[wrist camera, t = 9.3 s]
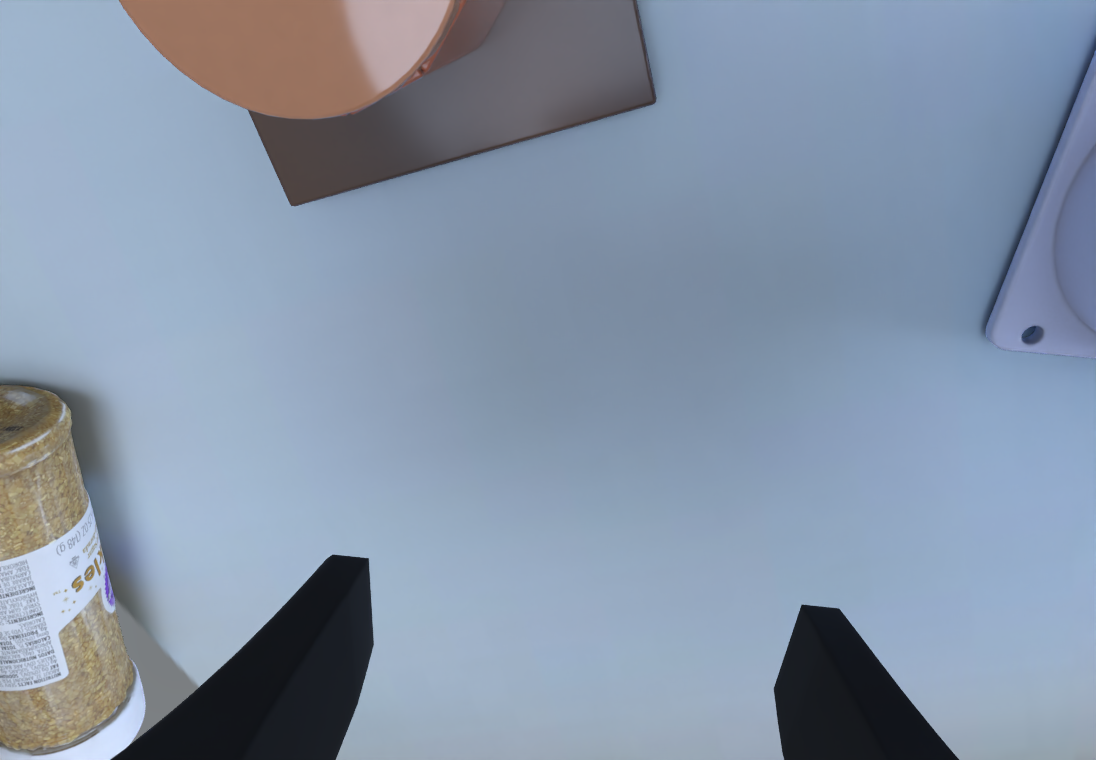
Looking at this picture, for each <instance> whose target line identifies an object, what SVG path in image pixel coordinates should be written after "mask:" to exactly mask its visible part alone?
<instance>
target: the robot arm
mask: <svg viewBox="0 0 1096 760" xmlns="http://www.w3.org/2000/svg"><path fill="white" fill-rule="evenodd" d="M1031 326H1036V330H1035V331H1034V332H1033V334H1032V335H1030V336H1028V337H1026V338H1022V334H1023V332H1024V331H1025V330H1026V329H1027V328H1029V327H1031ZM985 333H986V336H987V339H988V340H989V341H990V342H991V343H992V344H994V345H995V346H996V347H997V348H999V349H1002V350H1008V351H1019V352H1030V353H1040V354H1051V355H1062V356H1073V357H1083V358H1094V359H1096V50H1095V53H1094V55H1093V58H1092V61H1091V63H1090V66H1089V68H1088V71H1087V73H1086V76H1085V78H1084V81H1083V83H1082V86H1081V88H1080V91H1079V93H1078V96H1077V98H1076V101H1075V104H1074V106H1073V109H1072V111H1071V114H1070V116H1069V119H1068V121H1067V124H1066V126H1065V129H1064V131H1063V134H1062V136H1061V139H1060V141H1059V144H1058V146H1057V149H1056V152H1055V154H1054V157H1053V159H1052V162H1051V164H1050V167H1049V169H1048V172H1047V174H1046V177H1045V179H1044V182H1043V184H1042V187H1041V189H1040V192H1039V195H1038V197H1037V200H1036V202H1035V205H1034V207H1033V210H1032V212H1031V215H1030V217H1029V220H1028V222H1027V225H1026V227H1025V230H1024V232H1023V235H1022V237H1021V240H1020V243H1019V245H1018V248H1017V250H1016V253H1015V255H1014V258H1013V260H1012V263H1011V265H1010V268H1009V270H1008V273H1007V275H1006V278H1005V280H1004V283H1003V286H1002V288H1001V291H1000V293H999V296H998V298H997V301H996V303H995V306H994V308H993V311H992V313H991V316H990V318H989V321H988V323H987V326H986V332H985ZM373 645H374V642H373V625H372V608H371V591H370V574H369V558H360V557H350V556H341V555H332V556H330V557H329V558H327V559H326V560H325V561H324V562H323V564H322V565H321V566H320V567H319V568H318V569H317V570H316V571H315V573H314V574H313V575H312V576H311V577H310V578H309V579H308V580H307V581H306V582H305V584H304V585H303V586H302V587H301V588H300V589H299V590H298V591H297V592H296V593H295V594H294V595H293V596H292V598H291V599H290V600H289V601H288V602H287V603H286V604H285V605H284V606H283V607H282V608H281V609H280V610H279V611H278V612H277V613H276V614H275V615H274V616H273V617H272V618H271V619H270V620H269V621H268V622H267V623H266V624H265V625H264V626H263V627H262V628H261V629H260V630H259V631H258V632H257V633H256V634H255V635H254V636H253V637H252V638H251V639H250V640H249V641H248V642H247V643H246V644H245V645H244V646H243V647H242V648H241V649H240V650H239V651H238V652H237V653H236V654H235V655H234V656H233V657H232V658H231V659H230V660H229V661H228V662H227V663H225V664H224V665H223V666H222V667H221V668H220V669H219V670H218V671H217V672H216V673H214V674H213V675H212V676H211V677H210V678H209V679H208V680H207V681H206V682H205V683H203V684H202V685H201V686H200V687H199V688H198V689H197V690H196V691H195V692H194V693H193V694H191V695H190V696H189V697H188V698H187V699H186V700H184V701H183V702H182V703H181V704H180V705H179V706H177V707H176V708H175V709H174V710H173V711H171V712H170V713H169V714H168V715H167V716H166V717H164V718H163V719H162V720H161V721H159V722H158V723H157V724H156V725H154V726H153V727H152V728H151V729H149V730H148V731H147V732H146V733H144V734H143V735H142V736H140V737H139V738H138V739H137V740H136V741H134V742H133V743H132V744H130V745H129V746H128V747H126V748H125V749H124V750H122V751H121V752H120V753H118V754H117V755H116V756H114V757H113V758H112V759H110V760H336V757H337V755H338V752H339V750H340V747H341V745H342V742H343V740H344V737H345V735H346V732H347V730H348V727H349V724H350V722H351V719H352V717H353V714H354V712H355V709H356V706H357V704H358V700H359V697H360V693H361V690H362V686H363V683H364V679H365V675H366V672H367V668H368V664H369V660H370V657H371V653H372V649H373ZM774 694H775V702H776V710H777V718H778V725H779V732H780V739H781V745H782V752H783V756H784V760H959V759H958V758H957V757H956V756H955V754H954V753H953V752H952V751H951V750H950V749H949V747H948V746H947V745H946V744H945V743H944V742H943V740H942V739H941V738H940V737H939V736H938V734H937V733H936V732H935V731H934V729H933V728H932V727H931V726H930V724H929V723H928V722H927V721H926V720H925V718H924V717H923V716H922V715H921V713H920V712H919V711H918V710H917V709H916V707H915V706H914V705H913V704H912V702H911V701H910V700H909V699H908V697H907V696H906V695H905V694H904V692H903V691H902V690H901V689H900V687H899V686H898V685H897V683H896V682H895V681H894V680H893V678H892V677H891V676H890V674H889V673H888V672H887V670H886V669H885V668H884V667H883V665H882V664H881V663H880V661H879V660H878V659H877V657H876V656H875V655H874V653H873V652H872V651H871V650H870V648H869V647H868V646H867V644H866V643H865V642H864V640H863V639H862V638H861V636H860V635H859V634H858V632H857V631H856V630H855V628H854V627H853V626H852V625H851V623H850V622H849V621H848V619H847V618H846V617H845V615H844V614H843V613H842V612H841V610H840V609H838V608H829V607H819V606H810V605H801V608H800V611H799V614H798V617H797V620H796V623H795V626H794V629H793V632H792V636H791V639H790V642H789V645H788V648H787V651H786V654H785V657H784V660H783V663H782V666H781V669H780V672H779V675H778V678H777V681H776V684H775V687H774Z"/></svg>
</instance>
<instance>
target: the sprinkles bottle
mask: <svg viewBox="0 0 1096 760" xmlns="http://www.w3.org/2000/svg"><path fill="white" fill-rule="evenodd" d="M71 426H72V420H71V410H70V409H69V408H68V406H67V405H66V403H65V402H64V401H63V400H61V399H60V398H59V397H58V396H57V395H56V394H54V393H52V392H49V391H47V390H42V389H38V388H35V387H26V386H22V385H0V760H110V759H112V758H113V757H114V756H116V755H117V754H118V753H120V752H121V751H122V750H124V749H125V748H126V747H128V745H129V744H130V743H131V742H132V740H133V739H134V737H135V736H136V734H137V732H138V731H139V729H140V727H141V724H142V722H143V719H144V715H145V705H146V703H145V697H144V692H143V687H142V683H141V680H140V675H139V672H138V669H137V666H136V665H135V663H134V662H133V661H132V660H131V659H130V658H129V656H128V655H127V652H126V647H125V645H124V642H123V636H122V633H121V629H120V624H119V621H118V616H117V613H116V610H115V606H116V603H115V598H114V594H113V590H112V586H111V583H110V579H109V575H108V571H107V567H106V563H105V559H104V555H103V551H102V547H101V543H100V538H99V534H98V529H97V525H96V521H95V517H94V513H93V509H92V505H91V501H90V498H89V494H88V492H87V491H86V489H85V488H84V482H83V478H82V474H81V470H80V466H79V462H78V459H77V456H76V451H75V448H74V443H73V438H72V435H71Z"/></svg>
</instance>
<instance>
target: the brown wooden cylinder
mask: <svg viewBox="0 0 1096 760" xmlns="http://www.w3.org/2000/svg"><path fill="white" fill-rule="evenodd" d="M119 1H120V3H121V5H122V6H123V8H124V9H125V11H126V12H127V14H128V15H129V16H130V18H131V19H132V20H133V22H134V23H135V24H136V26H137V27H138V28H139V30H140V31H141V32H142V34H143V35H144V36H145V37H146V38H147V39H148V40H149V41H150V42H151V44H152V45H153V46H154V47H155V48H156V49H157V50H158V51H159V52H160V53H161V54H162V55H163V56H164V57H165V58H166V59H167V60H168V61H170V62H171V63H172V64H173V65H174V66H175V67H176V68H177V69H178V70H179V71H181V72H182V73H183V74H185V75H186V76H188V77H189V78H190V79H192V80H193V81H194V82H196V83H197V84H198V85H200V86H201V87H203V88H205V89H206V90H208V91H210V92H212V93H213V94H215V95H217V96H218V97H220V98H222V99H224V100H226V101H228V102H231V103H233V104H235V105H238V106H240V107H242V108H245V109H247V110H251V111H254V112H258V113H261V114H264V115H268V116H274V117H280V118H287V119H306V120H315V119H323V118H331V117H337V116H347V115H349V114H352V115H354V114H356V113H358V112H360V111H362V110H364V109H366V108H368V107H369V106H371V105H373V104H375V103H377V102H379V101H381V100H383V99H385V98H387V97H389V96H391V95H393V94H394V93H396V92H398V91H400V90H402V89H404V88H406V87H408V86H410V85H412V84H414V83H416V82H418V81H420V80H421V79H423V78H425V77H427V76H429V75H431V74H433V73H435V72H436V71H438V70H440V69H442V68H444V67H446V66H447V65H449V64H451V63H453V62H455V61H457V60H458V59H460V58H462V57H464V56H466V55H468V54H469V53H471V52H473V51H475V50H477V47H478V46H480V45H482V43H483V42H484V40H485V38H486V36H487V35H488V33H489V31H490V29H491V28H492V26H493V24H494V22H495V21H496V19H497V17H498V15H499V14H500V12H501V10H502V8H503V7H504V5H505V3H506V1H507V0H119Z"/></svg>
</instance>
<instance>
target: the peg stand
mask: <svg viewBox="0 0 1096 760" xmlns="http://www.w3.org/2000/svg"><path fill="white" fill-rule="evenodd" d="M655 102H656V94H655V89H654V84H653V79H652V74H651V69H650V64H649V59H648V54H647V49H646V44H645V40H644V35H643V30H642V25H641V20H640V15H639V10H638V5H637V0H507V1H506V3H505V5H504V7H503V8H502V10H501V12H500V14H499V15H498V17H497V19H496V21H495V22H494V24H493V26H492V28H491V29H490V31H489V33H488V35H487V36H486V38H485V40H484V42H483V43H482V45H480V46H478V47H477V50H475V51H473V52H471V53H469V54H468V55H466V56H464V57H462V58H460V59H458V60H457V61H455V62H453V63H451V64H449V65H447V66H446V67H444V68H442V69H440V70H438V71H436V72H435V73H433V74H431V75H429V76H427V77H425V78H423V79H421V80H420V81H418V82H416V83H414V84H412V85H410V86H408V87H406V88H404V89H402V90H400V91H398V92H396V93H394V94H393V95H391V96H389V97H387V98H385V99H383V100H381V101H379V102H377V103H375V104H373V105H371V106H369V107H368V108H366V109H364V110H362V111H360V112H358V113H356V114H354V115H352V114H349V115H347V116H337V117H331V118H323V119H315V120H306V119H287V118H280V117H274V116H268V115H264V114H261V113H258V112H254V111H251V110H248V111H249V114H250V116H251V118H252V120H253V122H254V125H255V127H256V129H257V131H258V134H259V136H260V138H261V140H262V143H263V145H264V147H265V149H266V151H267V154H268V156H269V158H270V160H271V163H272V165H273V167H274V169H275V172H276V174H277V176H278V178H279V180H280V183H281V185H282V187H283V189H284V192H285V194H286V196H287V198H288V201H289V203H290V204H291V206H298V205H302V204H305V203H309V202H312V201H316V200H319V199H323V198H326V197H330V196H333V195H337V194H340V193H344V192H347V191H351V190H354V189H358V188H361V187H365V186H368V185H372V184H375V183H379V182H382V181H386V180H389V179H393V178H396V177H400V176H403V175H407V174H410V173H414V172H417V171H421V170H425V169H428V168H432V167H435V166H439V165H442V164H446V163H449V162H453V161H456V160H460V159H463V158H467V157H470V156H474V155H477V154H481V153H484V152H488V151H491V150H495V149H498V148H502V147H505V146H509V145H512V144H516V143H519V142H523V141H526V140H530V139H533V138H537V137H540V136H544V135H547V134H551V133H554V132H558V131H561V130H565V129H568V128H572V127H575V126H579V125H582V124H586V123H589V122H593V121H596V120H600V119H604V118H607V117H611V116H614V115H618V114H621V113H625V112H628V111H632V110H635V109H639V108H642V107H646V106H649V105H653V104H654V103H655Z"/></svg>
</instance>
